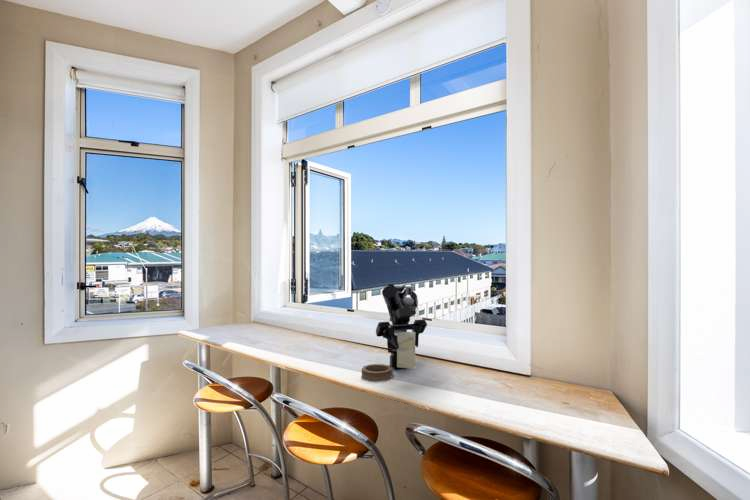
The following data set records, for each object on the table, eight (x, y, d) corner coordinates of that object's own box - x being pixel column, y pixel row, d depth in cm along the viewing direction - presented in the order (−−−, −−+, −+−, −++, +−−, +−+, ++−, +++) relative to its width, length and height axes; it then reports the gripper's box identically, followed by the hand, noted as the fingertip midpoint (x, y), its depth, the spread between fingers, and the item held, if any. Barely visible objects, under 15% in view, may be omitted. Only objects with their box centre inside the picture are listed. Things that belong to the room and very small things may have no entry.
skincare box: (396, 367, 131) (396, 333, 131) (398, 364, 135) (398, 331, 135) (414, 368, 129) (413, 334, 130) (415, 365, 134) (415, 331, 134)
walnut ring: (385, 370, 146) (385, 362, 146) (396, 378, 136) (396, 370, 136) (358, 373, 143) (358, 365, 143) (367, 382, 132) (367, 374, 132)
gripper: (377, 300, 134) (388, 336, 123) (424, 297, 139) (438, 332, 129) (371, 318, 141) (381, 354, 130) (416, 315, 147) (428, 350, 136)
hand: (407, 347), depth 131 cm, fingers closed on skincare box, 7 cm apart
